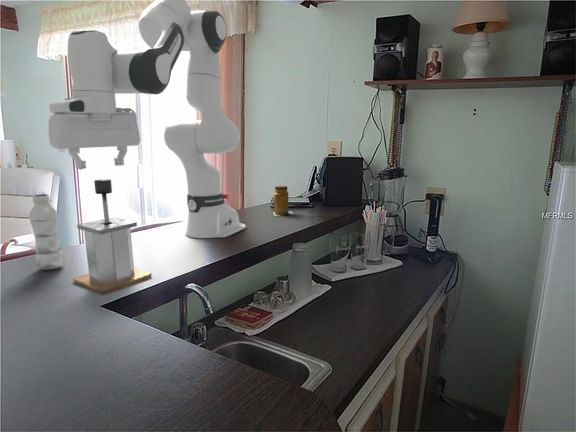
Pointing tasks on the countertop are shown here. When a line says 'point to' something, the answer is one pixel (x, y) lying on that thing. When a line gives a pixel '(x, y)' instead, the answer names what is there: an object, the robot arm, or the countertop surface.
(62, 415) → the countertop surface
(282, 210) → the condiment
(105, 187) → the plunger
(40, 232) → the plastic bottle
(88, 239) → the white box on plank
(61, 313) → the countertop surface
